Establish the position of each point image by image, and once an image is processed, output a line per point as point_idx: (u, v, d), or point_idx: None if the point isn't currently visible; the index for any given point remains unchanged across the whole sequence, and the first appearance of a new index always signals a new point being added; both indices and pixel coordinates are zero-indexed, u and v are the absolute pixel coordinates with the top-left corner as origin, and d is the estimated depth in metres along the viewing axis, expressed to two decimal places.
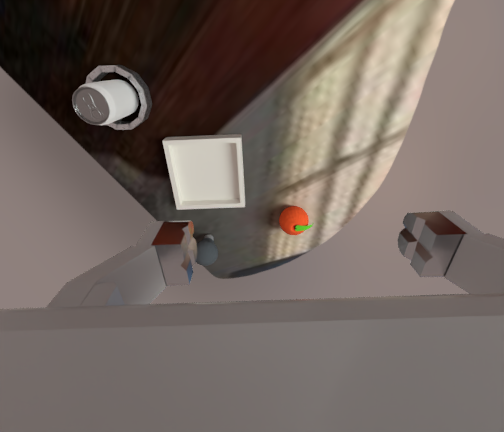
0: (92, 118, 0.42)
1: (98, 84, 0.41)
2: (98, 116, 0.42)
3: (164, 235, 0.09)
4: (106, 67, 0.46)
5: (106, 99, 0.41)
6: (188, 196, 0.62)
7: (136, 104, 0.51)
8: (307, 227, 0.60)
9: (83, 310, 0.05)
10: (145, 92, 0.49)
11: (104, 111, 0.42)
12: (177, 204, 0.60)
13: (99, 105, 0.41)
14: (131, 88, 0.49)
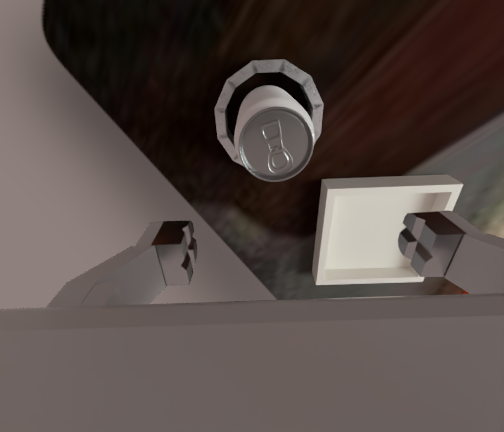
0: (268, 168, 0.20)
1: (291, 100, 0.19)
2: (282, 165, 0.20)
3: (164, 235, 0.09)
4: (267, 63, 0.24)
5: None
6: (331, 263, 0.40)
7: None
8: None
9: (83, 310, 0.05)
10: None
11: (297, 155, 0.20)
12: (319, 278, 0.39)
13: (292, 144, 0.20)
14: None
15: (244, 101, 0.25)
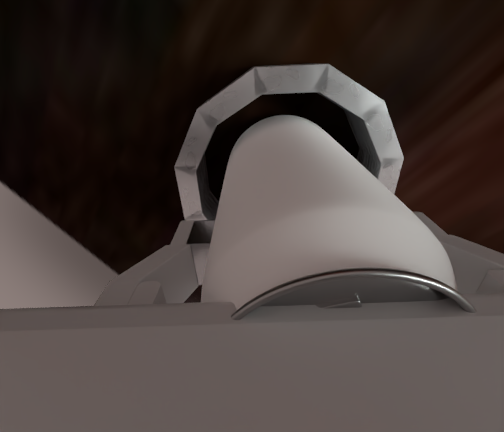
0: None
1: (390, 204, 0.06)
2: None
3: (197, 234, 0.09)
4: (288, 73, 0.11)
5: None
6: None
7: None
8: None
9: (83, 310, 0.05)
10: None
11: None
12: None
13: None
14: None
15: (236, 156, 0.11)
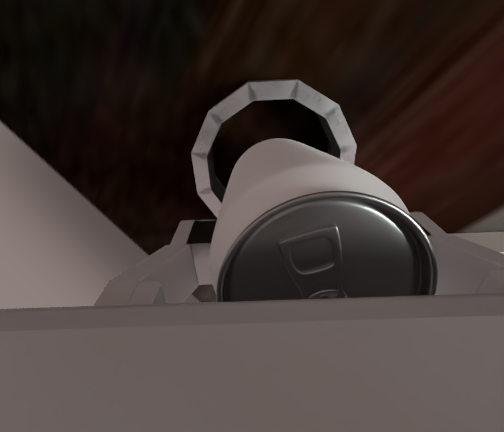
0: None
1: (359, 168, 0.07)
2: None
3: (197, 234, 0.09)
4: (271, 86, 0.15)
5: None
6: None
7: None
8: None
9: (83, 310, 0.05)
10: None
11: None
12: None
13: (369, 287, 0.07)
14: None
15: (238, 165, 0.13)
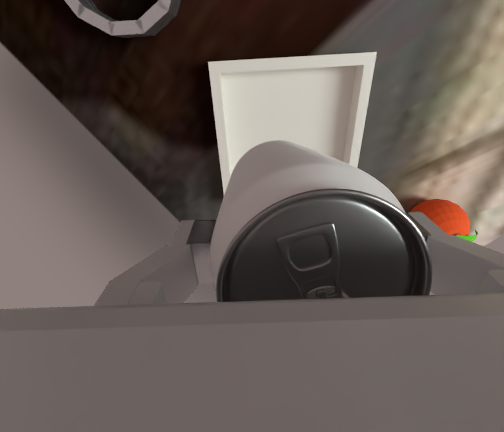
0: None
1: (355, 168, 0.08)
2: None
3: (197, 234, 0.09)
4: None
5: None
6: None
7: None
8: (472, 238, 0.32)
9: (83, 310, 0.05)
10: None
11: None
12: None
13: (365, 284, 0.07)
14: None
15: (238, 166, 0.14)
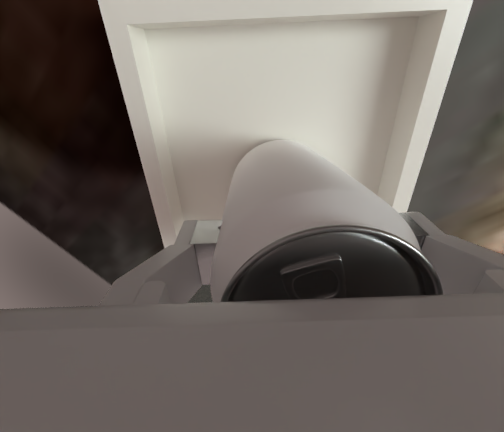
0: None
1: (364, 191, 0.07)
2: None
3: (201, 234, 0.09)
4: None
5: None
6: None
7: None
8: None
9: (83, 310, 0.05)
10: None
11: None
12: None
13: None
14: None
15: (240, 171, 0.13)
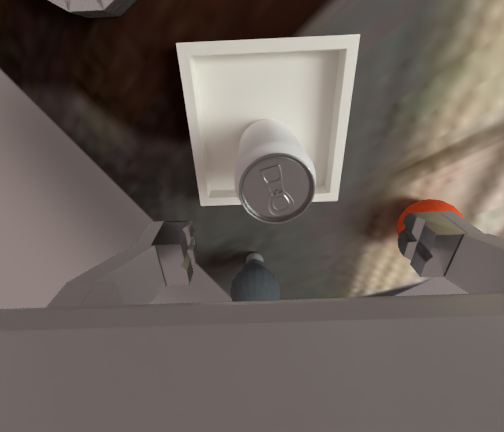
0: (269, 211, 0.20)
1: (292, 143, 0.19)
2: (282, 208, 0.20)
3: (164, 235, 0.09)
4: None
5: None
6: (223, 180, 0.31)
7: None
8: None
9: (83, 310, 0.05)
10: None
11: (298, 199, 0.20)
12: (202, 195, 0.30)
13: (293, 188, 0.19)
14: None
15: (244, 137, 0.25)
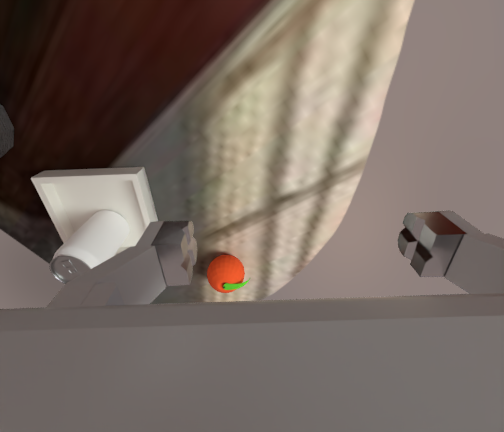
0: None
1: (80, 246, 0.36)
2: None
3: (164, 235, 0.09)
4: None
5: (89, 265, 0.35)
6: None
7: (126, 234, 0.45)
8: (240, 285, 0.46)
9: (83, 310, 0.05)
10: None
11: None
12: None
13: (81, 270, 0.36)
14: (121, 220, 0.44)
15: None
